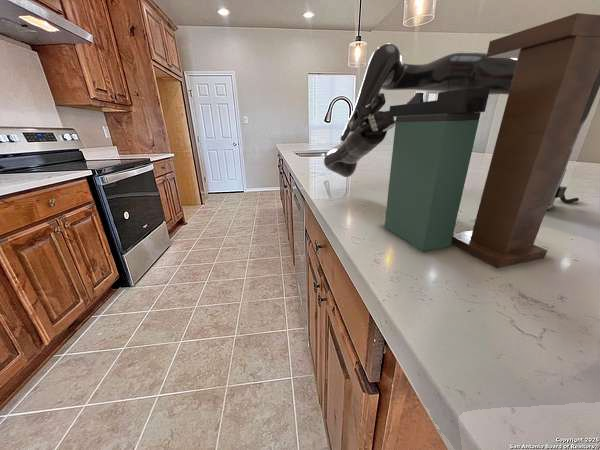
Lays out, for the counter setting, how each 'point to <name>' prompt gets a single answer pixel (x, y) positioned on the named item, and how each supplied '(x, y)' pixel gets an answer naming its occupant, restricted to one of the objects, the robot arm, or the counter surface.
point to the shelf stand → (533, 135)
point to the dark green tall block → (429, 176)
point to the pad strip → (446, 103)
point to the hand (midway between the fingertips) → (402, 96)
